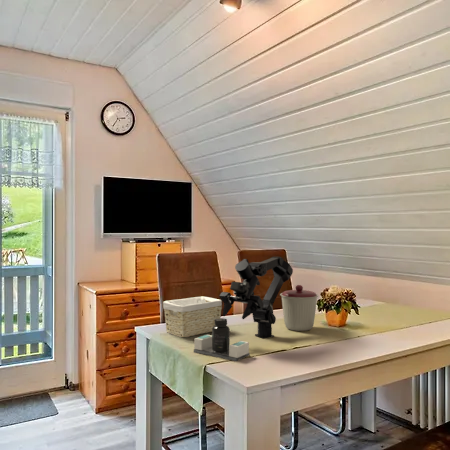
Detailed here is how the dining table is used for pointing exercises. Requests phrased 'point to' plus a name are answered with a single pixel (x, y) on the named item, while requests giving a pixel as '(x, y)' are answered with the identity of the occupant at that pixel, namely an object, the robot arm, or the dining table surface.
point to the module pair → (234, 349)
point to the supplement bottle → (220, 336)
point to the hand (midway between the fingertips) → (233, 317)
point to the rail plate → (219, 354)
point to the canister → (299, 308)
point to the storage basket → (191, 315)
